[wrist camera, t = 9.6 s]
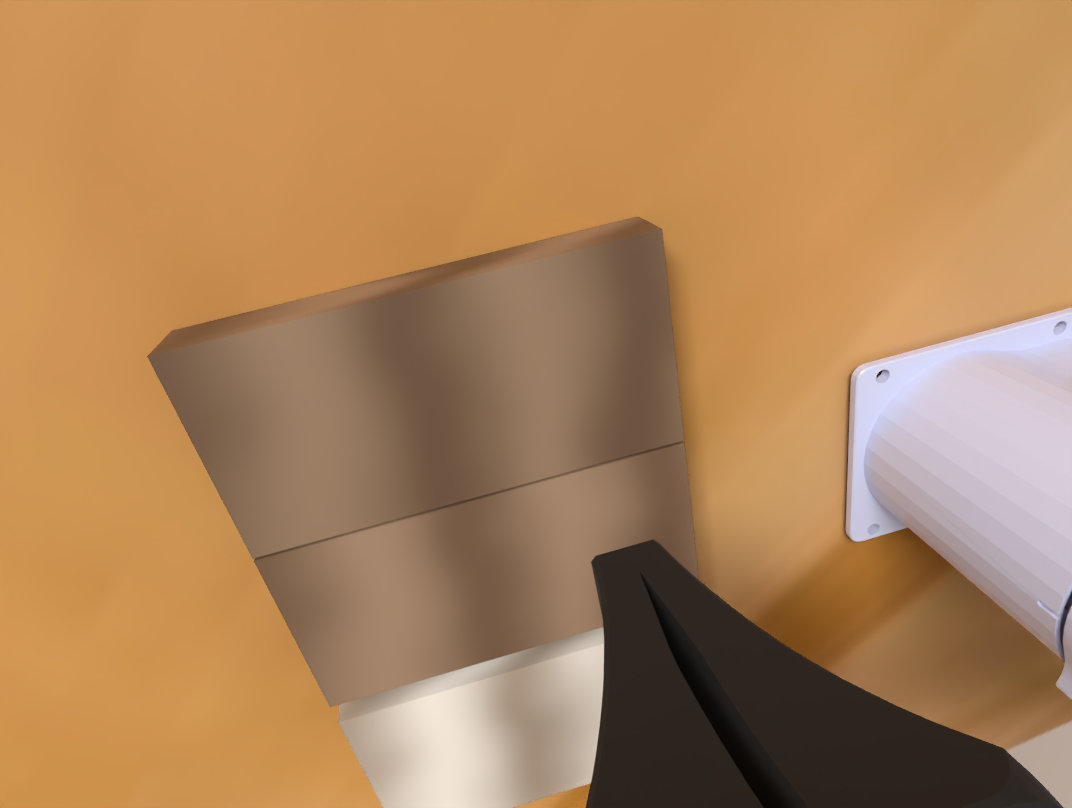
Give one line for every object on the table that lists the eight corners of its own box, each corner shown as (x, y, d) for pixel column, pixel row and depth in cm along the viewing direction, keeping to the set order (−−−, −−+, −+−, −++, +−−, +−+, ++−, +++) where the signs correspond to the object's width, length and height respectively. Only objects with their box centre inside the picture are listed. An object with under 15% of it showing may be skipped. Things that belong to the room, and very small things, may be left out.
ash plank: (682, 578, 26) (702, 614, 25) (696, 705, 30) (715, 743, 28) (342, 677, 25) (338, 722, 23) (401, 795, 29) (401, 842, 27)
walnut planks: (638, 216, 20) (662, 229, 18) (680, 563, 26) (700, 597, 24) (172, 330, 18) (147, 356, 17) (335, 663, 25) (330, 707, 23)
